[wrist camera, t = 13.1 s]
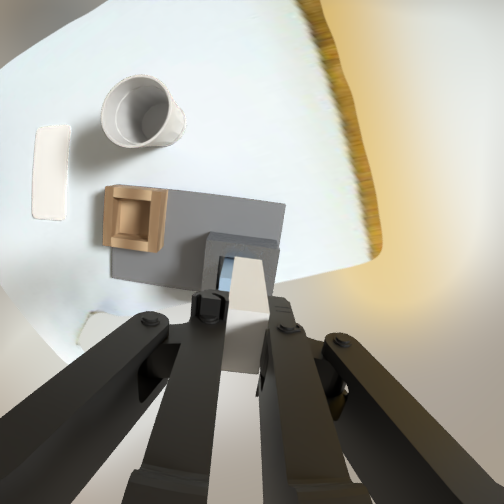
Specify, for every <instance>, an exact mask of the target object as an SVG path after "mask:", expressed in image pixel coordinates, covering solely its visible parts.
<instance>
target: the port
mask: <svg viewBox="0 0 504 504" xmlns="http://www.w3.org/2000/svg"><path fill="white" fill-rule="evenodd" d="M279 253H280V248H279V246H278V243H277V240H272V239H264V238H257V237H249V236H242V235H234V234H227V233H219V232H212V231H211V232H210V234H209V236H208V238H207V239H206V247H205V257H204V267H203V277H202V288H201V291H206V290H208V289H213V290H219V281H220V275H221V271H222V267H223V263H224V259H225V257H232V258H235V257H243V258H250V259H258V260H262V264H263V271H264V277H265V284H266V291H267V296H272V293H273V287H274V282H275V276H276V270H277V264H278V258H279Z"/></svg>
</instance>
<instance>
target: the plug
mask: <svg viewBox="0 0 504 504" xmlns="http://www.w3.org/2000/svg"><path fill="white" fill-rule="evenodd" d="M233 265H234V258H232V257H225V259H224V263H223V267H222V271H221V275H220V281H219V290H220V291H228V292H230V285H231V278H232V271H233Z"/></svg>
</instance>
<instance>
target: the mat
mask: <svg viewBox="0 0 504 504" xmlns="http://www.w3.org/2000/svg"><path fill="white" fill-rule="evenodd" d="M124 186H130V185H124ZM135 187H141V186H135ZM146 188H152V187H146ZM156 189H162V188H156ZM166 190H168V198H167V209H166V220H165V233H164V246H163V247H162V248H161V249H160V250H159V251H158V252H157V253H153V252H146V251H139V250H132V249H125V248H118V247H112V278H117V279H122V280H128V281H134V282H140V283H146V284H153V285H159V286H165V287H172V288H179V289H185V290H192V291H199V292H201V288H202V277H203V267H204V257H205V247H206V239H207V238H208V236H209V234H210V232H211V231H212V232H219V233H227V234H234V235H242V236H249V237H257V238H264V239H272V240H277V243H278V246H279V244H280V238H281V232H282V225H283V219H284V213H285V207H286V204H281V203H275V202H268V201H261V200H254V199H246V198H239V197H231V196H223V195H215V194H207V193H199V192H190V191H181V190H172V189H166Z"/></svg>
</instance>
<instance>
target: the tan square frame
mask: <svg viewBox="0 0 504 504" xmlns="http://www.w3.org/2000/svg"><path fill="white" fill-rule="evenodd" d="M167 198H168V190H166V189H156V188H146V187H135V186H124V185H112V186H106V187H105V198H104V217H103V245H104V246H111V247H118V248H125V249H132V250H139V251H146V252H153V253H157V252H158V251H159V250H160V249H161V248H162V247H163V246H164V233H165V220H166V209H167Z"/></svg>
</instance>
